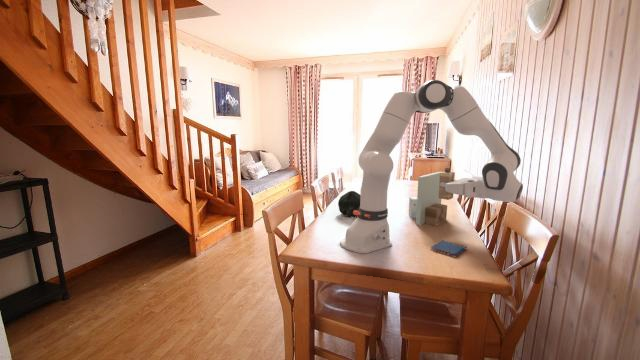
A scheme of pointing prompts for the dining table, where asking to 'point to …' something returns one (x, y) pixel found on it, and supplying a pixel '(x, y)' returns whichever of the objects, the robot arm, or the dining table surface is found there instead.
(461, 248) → the blue flat slab
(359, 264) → the dining table surface
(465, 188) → the robot arm
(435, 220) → the walnut ledge
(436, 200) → the wall panel
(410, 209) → the small box
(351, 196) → the squash
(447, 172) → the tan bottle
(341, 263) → the dining table surface
